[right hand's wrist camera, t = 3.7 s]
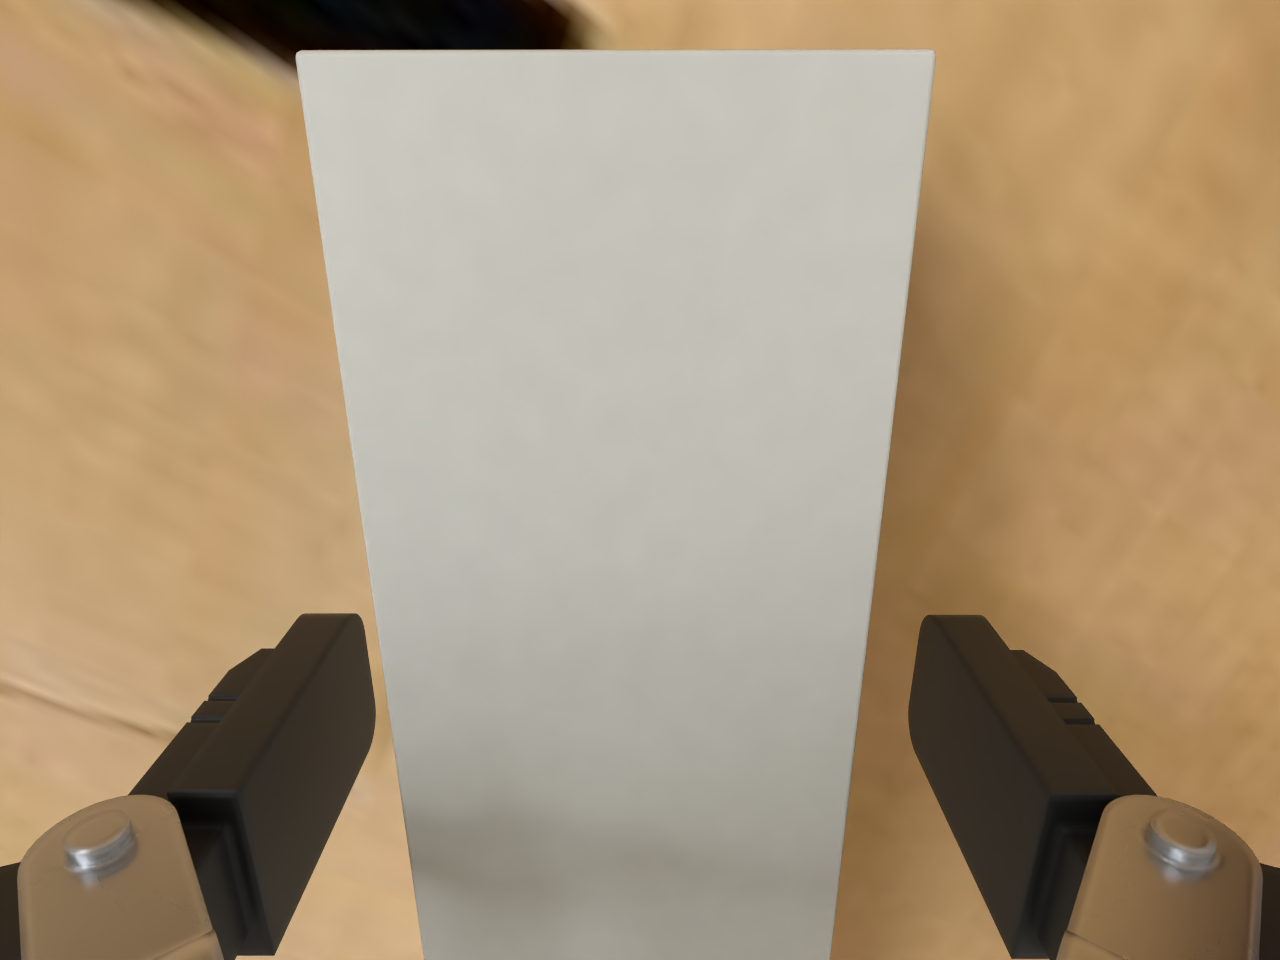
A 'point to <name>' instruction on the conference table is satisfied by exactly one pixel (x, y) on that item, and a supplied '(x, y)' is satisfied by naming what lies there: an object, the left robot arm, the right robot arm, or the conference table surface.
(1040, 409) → the conference table surface
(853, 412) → the beam
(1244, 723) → the conference table surface
